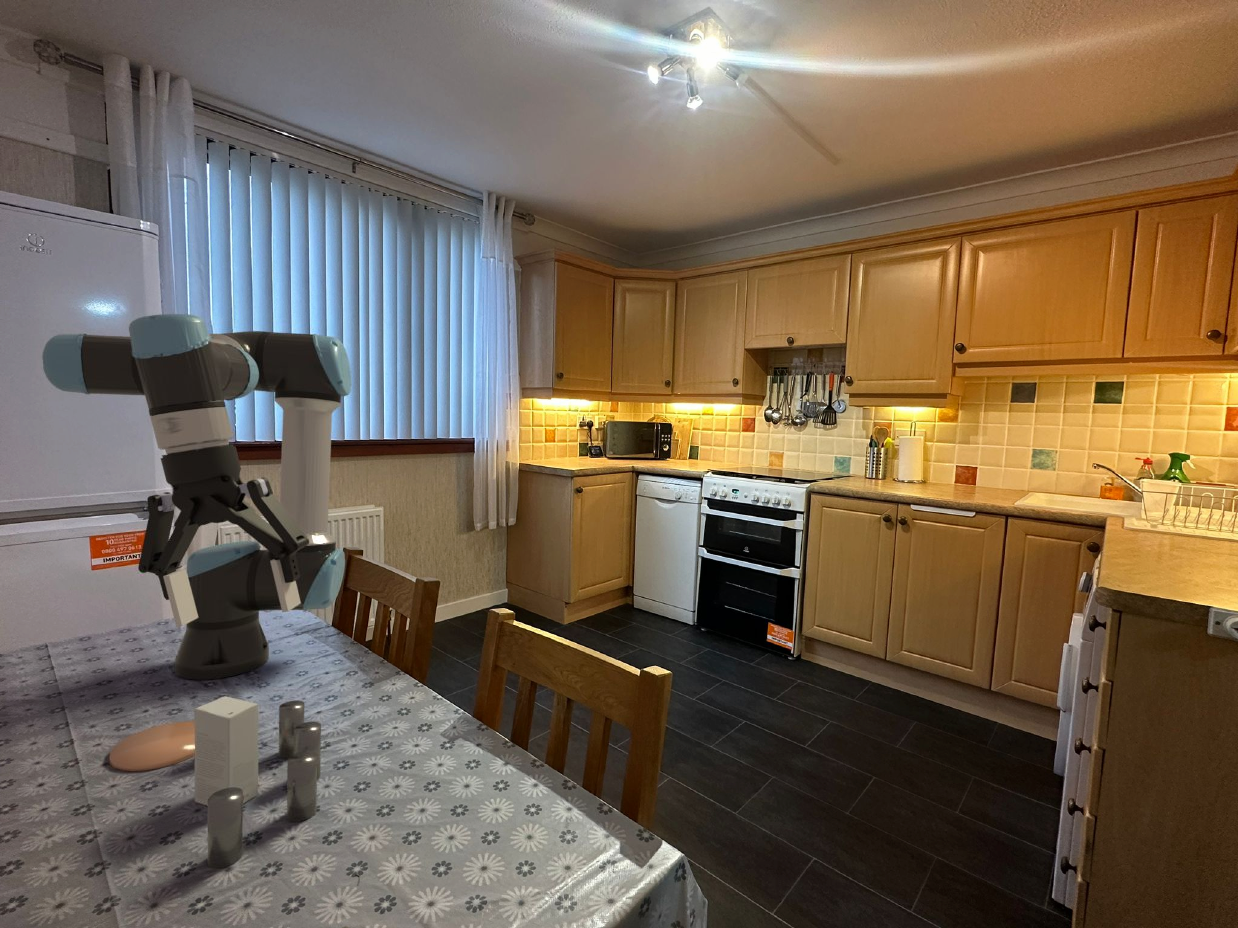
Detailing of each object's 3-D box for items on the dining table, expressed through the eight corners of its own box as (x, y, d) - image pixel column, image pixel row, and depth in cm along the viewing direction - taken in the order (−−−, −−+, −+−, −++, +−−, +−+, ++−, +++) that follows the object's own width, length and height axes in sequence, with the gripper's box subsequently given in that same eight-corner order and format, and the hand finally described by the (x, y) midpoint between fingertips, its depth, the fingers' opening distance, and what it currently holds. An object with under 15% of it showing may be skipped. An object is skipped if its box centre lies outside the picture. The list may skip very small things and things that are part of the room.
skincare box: (259, 794, 76) (260, 703, 75) (228, 814, 72) (228, 718, 71) (225, 783, 78) (225, 694, 77) (192, 802, 74) (192, 708, 73)
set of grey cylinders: (255, 732, 91) (256, 687, 90) (376, 771, 82) (377, 722, 81) (92, 812, 71) (91, 755, 71) (227, 875, 62) (227, 811, 62)
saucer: (181, 719, 93) (181, 714, 93) (233, 737, 89) (233, 732, 89) (89, 757, 82) (89, 751, 82) (144, 779, 78) (144, 773, 78)
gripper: (70, 466, 68) (118, 640, 71) (278, 434, 67) (319, 613, 69) (126, 458, 76) (168, 616, 78) (314, 429, 74) (350, 590, 77)
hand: (239, 615), depth 74 cm, fingers open, 13 cm apart
